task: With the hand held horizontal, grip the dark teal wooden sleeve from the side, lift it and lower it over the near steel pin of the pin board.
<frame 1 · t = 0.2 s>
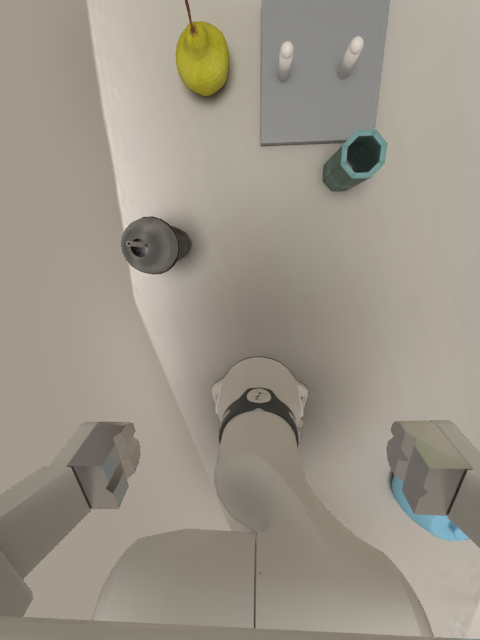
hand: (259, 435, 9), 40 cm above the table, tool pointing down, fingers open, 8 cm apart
beverage cup: (178, 243, 46), on the table
sleeve: (339, 172, 41), on the table
fruit: (208, 77, 39), on the table
pin board: (318, 78, 38), on the table
sugar bowl: (424, 476, 57), on the table
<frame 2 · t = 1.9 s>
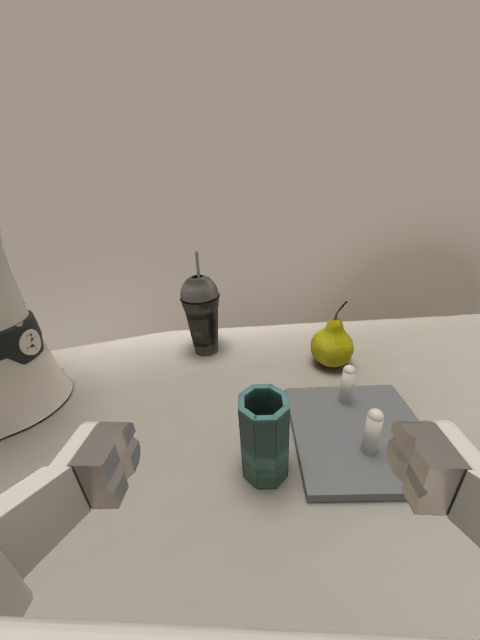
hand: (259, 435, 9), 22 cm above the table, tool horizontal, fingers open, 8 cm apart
beverage cup: (207, 350, 55), on the table
sleeve: (264, 467, 31), on the table
fruit: (329, 364, 48), on the table
pin board: (357, 435, 34), on the table
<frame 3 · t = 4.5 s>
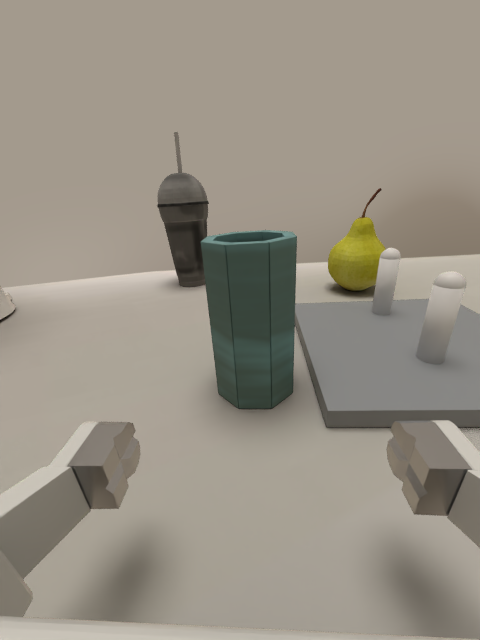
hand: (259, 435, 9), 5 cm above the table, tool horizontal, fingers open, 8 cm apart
beverage cup: (194, 283, 43), on the table
sleeve: (255, 383, 19), on the table
fruit: (352, 290, 36), on the table
pin board: (404, 350, 22), on the table
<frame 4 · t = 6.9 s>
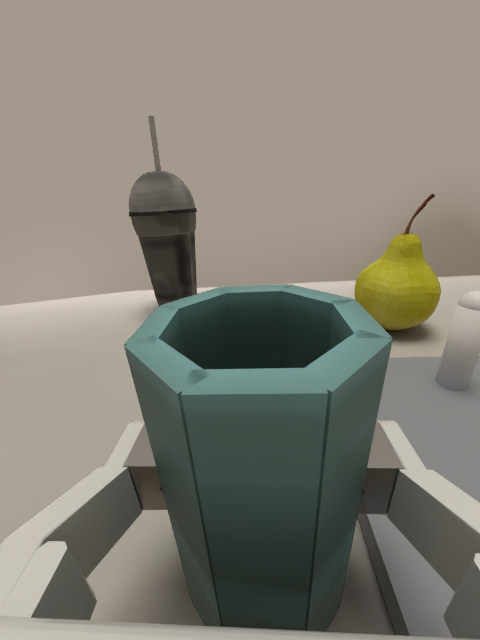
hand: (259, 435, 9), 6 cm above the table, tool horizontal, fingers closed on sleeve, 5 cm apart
beverage cup: (179, 311, 34), on the table
sleeve: (263, 564, 10), on the table, touching gripper
fruit: (386, 328, 27), on the table
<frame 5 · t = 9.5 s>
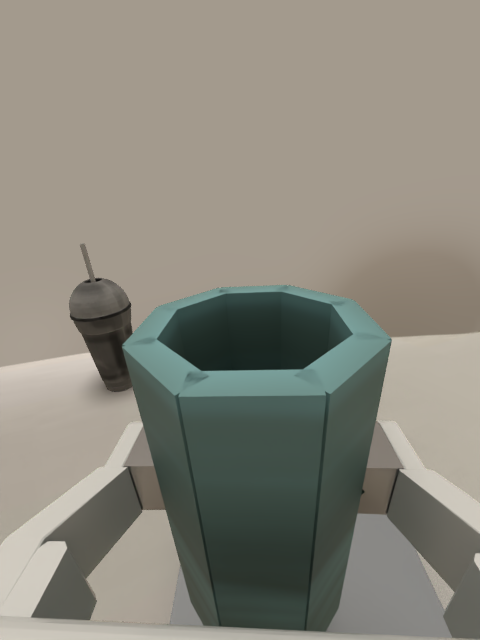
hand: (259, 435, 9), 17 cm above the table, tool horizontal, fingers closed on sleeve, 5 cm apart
beverage cup: (123, 382, 40), on the table
sleeve: (262, 565, 10), point 11 cm above the table, touching gripper
pin board: (297, 568, 19), on the table
when the fingers open (8 cm above the table, at t = 12.4 s): sleeve stays where it is, resting on pin board.
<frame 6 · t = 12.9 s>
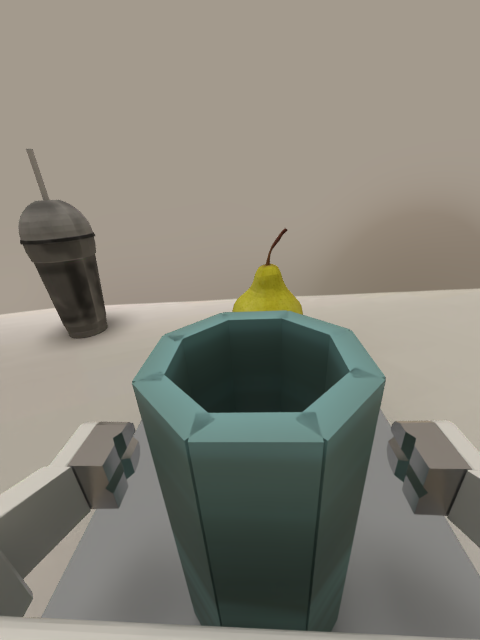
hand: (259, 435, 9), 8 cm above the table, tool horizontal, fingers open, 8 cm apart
beverage cup: (89, 331, 35), on the table
sleeve: (263, 577, 10), point 1 cm above the table, touching pin board
fruit: (267, 352, 28), on the table
pin board: (262, 511, 14), on the table
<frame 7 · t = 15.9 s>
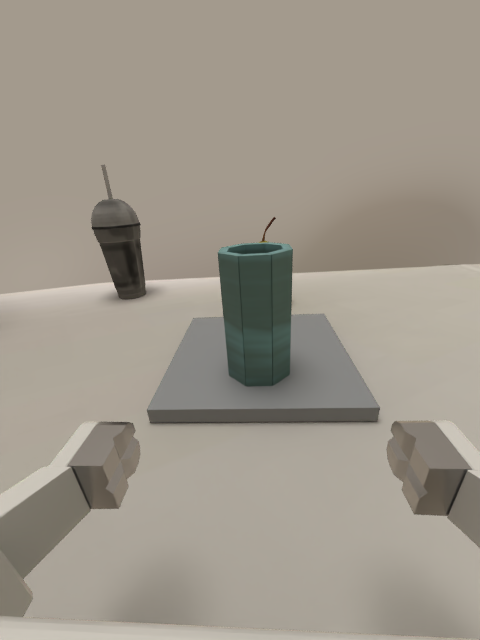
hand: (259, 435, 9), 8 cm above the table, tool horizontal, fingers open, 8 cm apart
beverage cup: (133, 295, 48), on the table
sleeve: (258, 367, 23), point 1 cm above the table, touching pin board
pin board: (258, 359, 26), on the table
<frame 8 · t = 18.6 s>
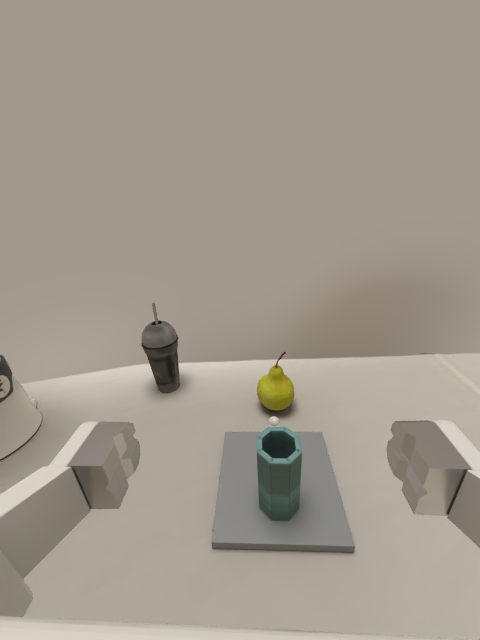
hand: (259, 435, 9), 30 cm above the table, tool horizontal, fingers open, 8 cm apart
beverage cup: (169, 386, 60), on the table
sleeve: (278, 499, 35), point 1 cm above the table, touching pin board
fruit: (275, 406, 52), on the table
pin board: (276, 482, 38), on the table
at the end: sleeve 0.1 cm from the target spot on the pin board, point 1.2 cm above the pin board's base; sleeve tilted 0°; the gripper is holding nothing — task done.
